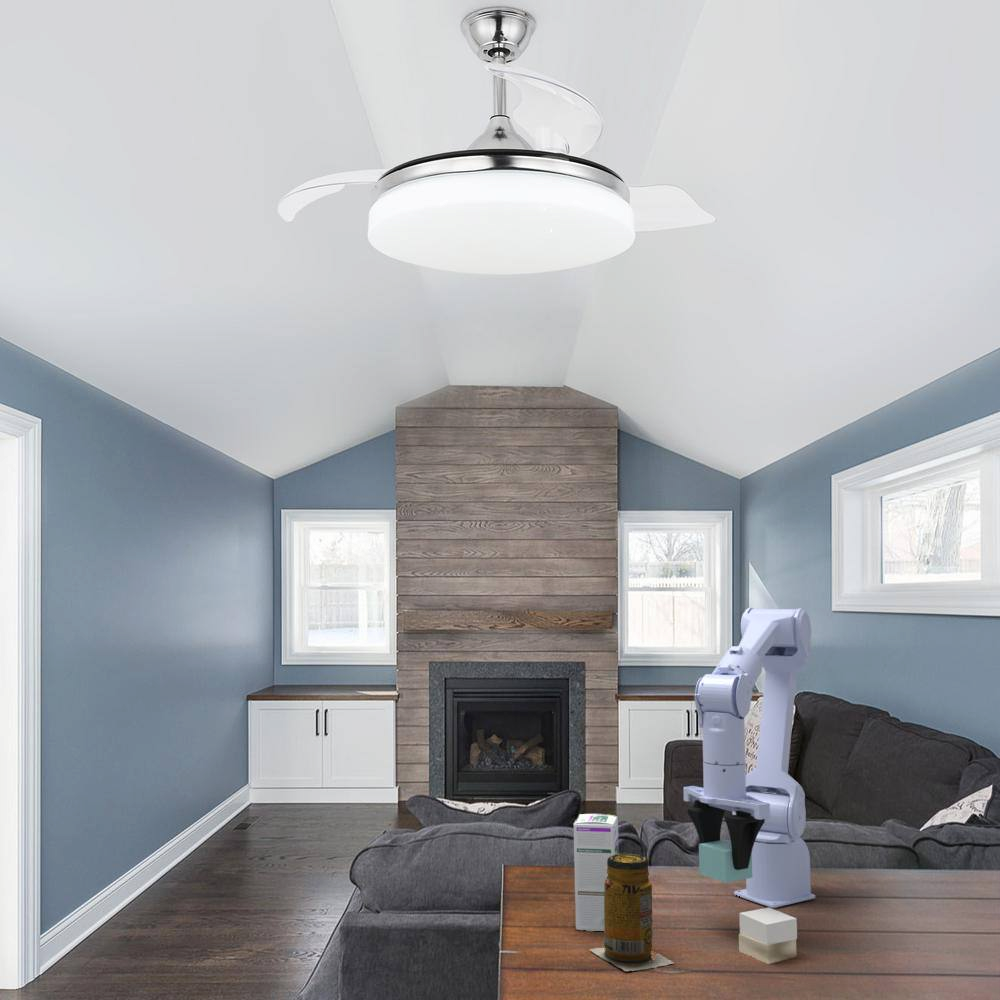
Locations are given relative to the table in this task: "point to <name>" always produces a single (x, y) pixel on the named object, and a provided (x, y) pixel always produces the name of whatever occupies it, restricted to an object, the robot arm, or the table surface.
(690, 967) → the table surface
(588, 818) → the syrup box
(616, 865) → the condiment
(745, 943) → the maple brick
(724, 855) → the teal brick
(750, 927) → the white brick
